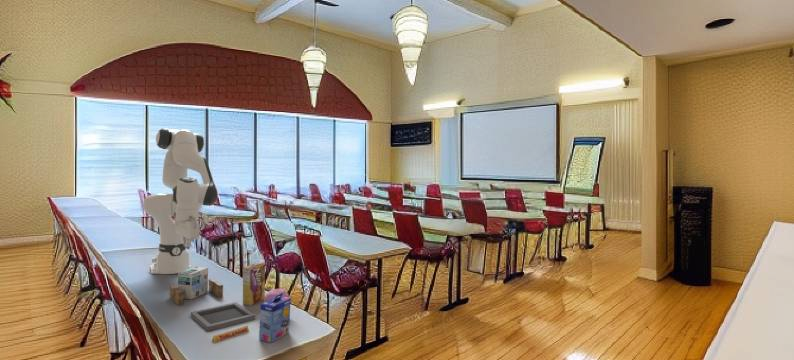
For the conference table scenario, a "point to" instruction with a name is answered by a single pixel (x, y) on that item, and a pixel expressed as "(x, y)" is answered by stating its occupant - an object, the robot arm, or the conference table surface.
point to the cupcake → (275, 294)
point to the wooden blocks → (178, 294)
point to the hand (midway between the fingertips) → (187, 246)
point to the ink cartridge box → (274, 318)
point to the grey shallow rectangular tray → (222, 316)
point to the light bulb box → (193, 282)
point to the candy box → (253, 283)
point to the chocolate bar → (230, 334)
